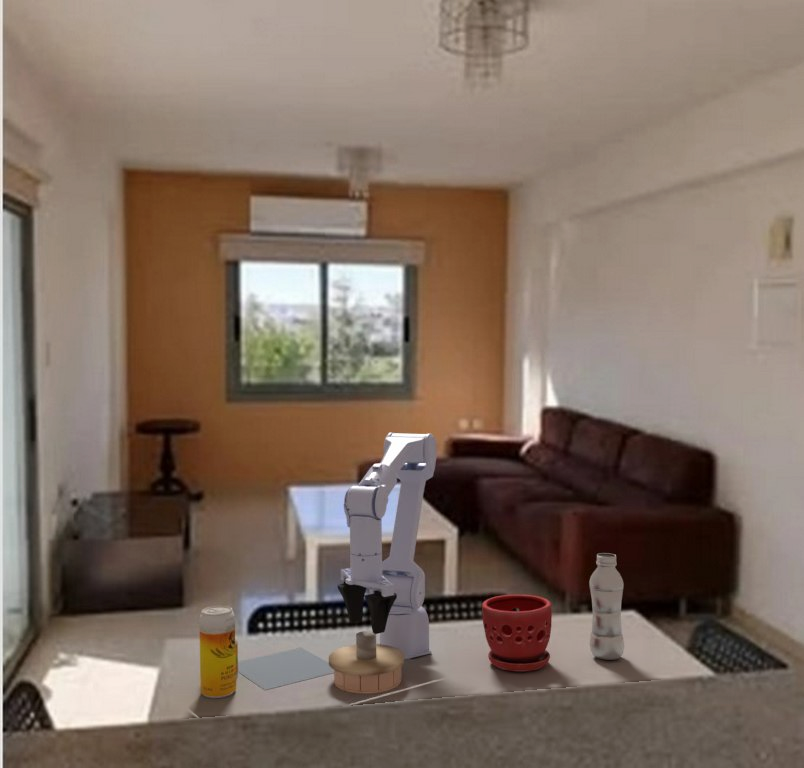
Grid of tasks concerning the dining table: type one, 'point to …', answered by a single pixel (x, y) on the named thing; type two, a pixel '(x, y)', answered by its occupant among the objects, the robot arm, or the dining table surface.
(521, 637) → the plant pot
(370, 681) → the bowl
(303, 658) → the mat
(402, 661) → the lid
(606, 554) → the plastic bottle
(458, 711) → the dining table surface
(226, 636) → the beer can
